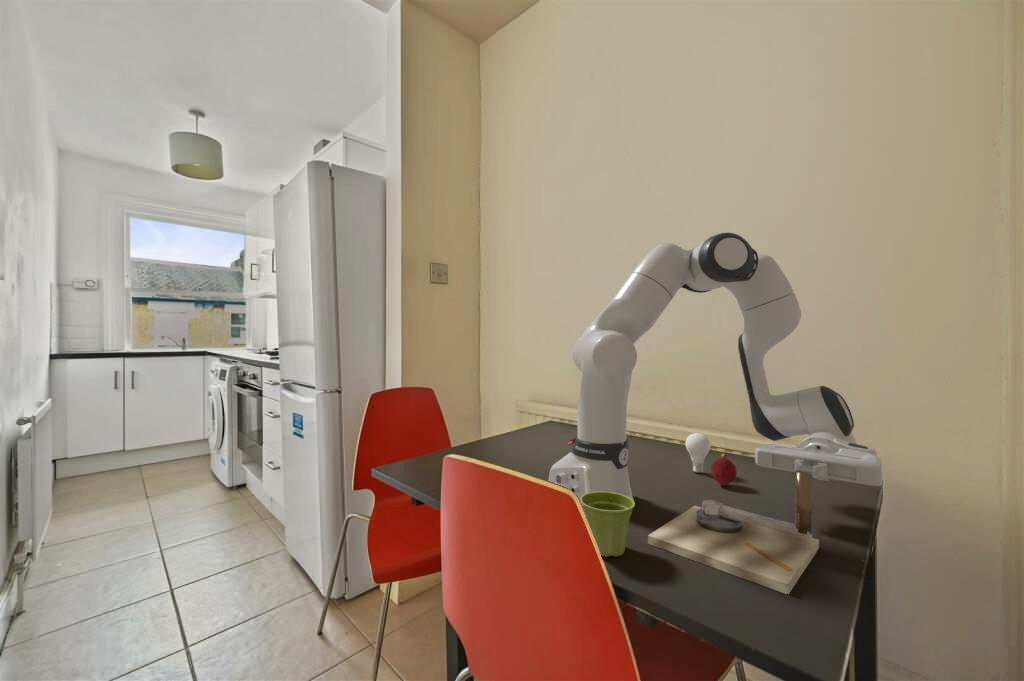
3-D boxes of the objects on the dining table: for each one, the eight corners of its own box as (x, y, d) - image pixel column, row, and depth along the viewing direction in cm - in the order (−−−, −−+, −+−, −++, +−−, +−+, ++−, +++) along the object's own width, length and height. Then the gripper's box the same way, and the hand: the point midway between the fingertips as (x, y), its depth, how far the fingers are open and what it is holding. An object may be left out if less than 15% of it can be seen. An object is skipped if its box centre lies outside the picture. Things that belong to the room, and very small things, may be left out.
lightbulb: (681, 469, 122) (681, 431, 122) (702, 469, 123) (702, 430, 123) (692, 477, 116) (692, 436, 116) (715, 476, 117) (715, 435, 117)
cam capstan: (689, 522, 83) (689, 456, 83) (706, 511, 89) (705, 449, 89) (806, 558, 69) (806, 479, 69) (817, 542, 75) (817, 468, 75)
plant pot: (596, 532, 83) (596, 487, 83) (643, 547, 77) (643, 498, 77) (570, 551, 76) (570, 501, 76) (620, 569, 70) (620, 515, 70)
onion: (739, 490, 106) (739, 457, 106) (714, 489, 107) (714, 456, 107) (732, 482, 111) (732, 451, 111) (708, 481, 112) (708, 450, 112)
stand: (647, 543, 78) (647, 534, 78) (694, 512, 92) (694, 504, 92) (788, 594, 63) (788, 583, 63) (819, 548, 76) (819, 538, 76)
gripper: (765, 434, 96) (743, 445, 86) (886, 449, 81) (877, 465, 72) (765, 462, 96) (744, 477, 86) (887, 483, 81) (877, 503, 72)
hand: (805, 472), depth 79 cm, fingers closed
